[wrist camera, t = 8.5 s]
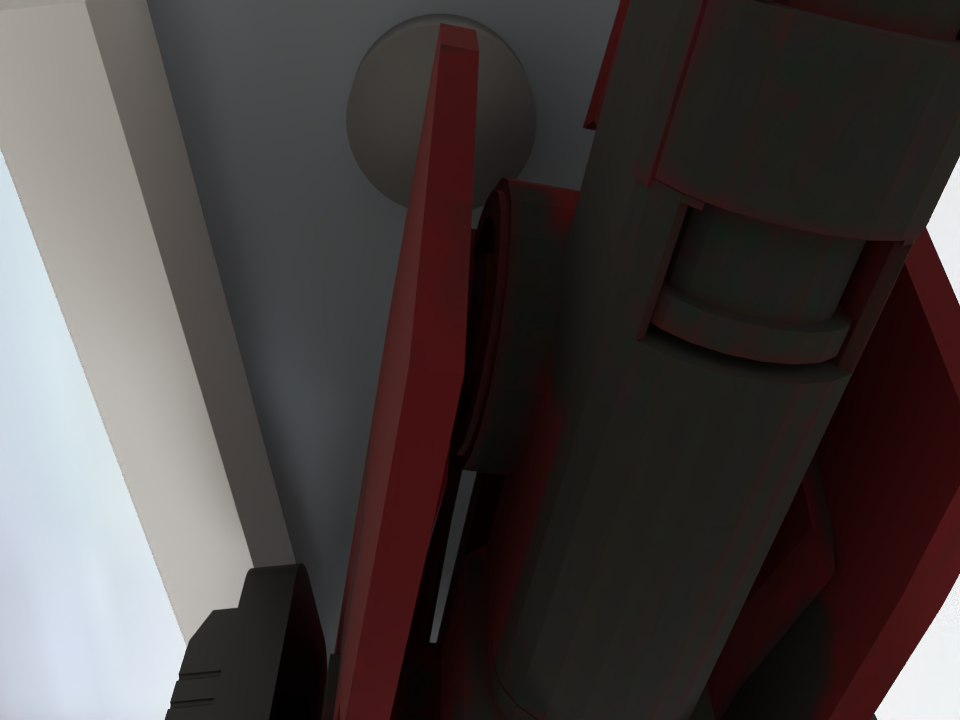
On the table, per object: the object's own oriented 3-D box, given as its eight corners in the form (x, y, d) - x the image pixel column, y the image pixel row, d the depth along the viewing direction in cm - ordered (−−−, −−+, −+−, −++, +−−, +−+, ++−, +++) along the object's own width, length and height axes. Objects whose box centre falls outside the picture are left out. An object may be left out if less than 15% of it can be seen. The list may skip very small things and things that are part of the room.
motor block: (754, -112, 13) (904, -87, 9) (712, 632, 22) (781, 831, 17) (98, -41, 14) (-59, 16, 9) (302, 673, 22) (269, 880, 17)
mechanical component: (504, -465, 8) (593, -994, 3) (992, -335, 8) (1783, -586, 3) (279, 956, 19) (219, 1338, 14) (487, 973, 20) (498, 1346, 15)
